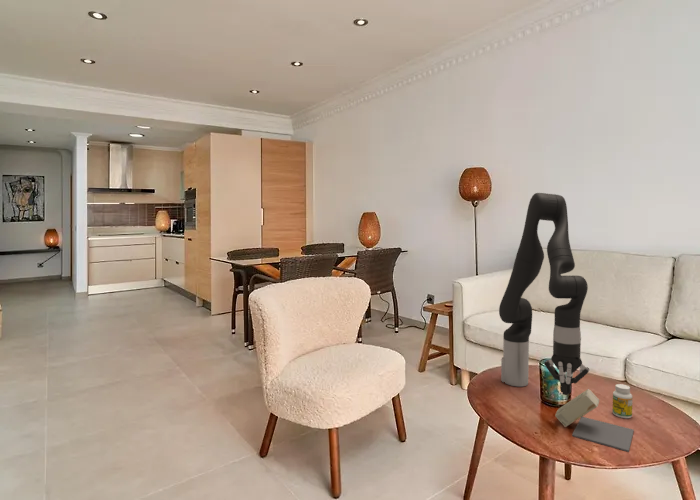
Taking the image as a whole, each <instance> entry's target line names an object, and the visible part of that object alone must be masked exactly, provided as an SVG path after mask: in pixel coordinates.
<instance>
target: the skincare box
mask: <svg viewBox="0 0 700 500" xmlns="http://www.w3.org/2000/svg"><path fill="white" fill-rule="evenodd" d="M599 403H600V399H599V398H598V397H597V395H595V394H594V392H593V391H592V390H591V389H590V388H588V389H586V390H584V391H582V393H580V394H578V395H577V396H575V397H574V398H572V399H571V400H570V401H568V402H566V403H565V404H563V405H561V407H559V408H558V409H557V411H556V412H555V415H554V416H555V418H556V419H557V420H558V421H559V422H560V423H561V424H562V425H563V426H564V428H567V427H568V426H570V425H571V424H573V423H574V422H575V421H578V420H580V418H581V417H585V415H586V414H587V415H588V414H589V413H590V412H591V411H593V410H594V409H596V408H598V406H599Z"/></svg>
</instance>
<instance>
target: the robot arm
mask: <svg viewBox="0 0 700 500" xmlns="http://www.w3.org/2000/svg"><path fill="white" fill-rule="evenodd" d="M568 219H569V218H568V206H567V202H566V199H565V198H564V197H563V196H562V195H560V194H555V193H545V192H535V193H533V195H532V196H531V198H530V200H529V203H528V206H527V211H526V216H525V222H524V225H523V226H524V227H523V232H522V235H521V240H520V244H519V246H518V249H517V252H516V255H515V259H514V262H513V266H512V271H511V274H510V277H509V280H508V283H507V286H506V289H505V292H504V294H503V296H502V299H501V301H500V304H499V307H498V314H499V319H501V321H502V322H504V323H506V324H511V325H510V326H509V327H508V328H507V329H505V330H504V331H503V341H502V342H503V345H502V347H503V351H502V352H503V353H502V355H503V357H501V359H500V361H501V364H500V366H501V367H500V368H501V369H500V372H501V375H500V376H501V377H500V381H502V382H501V383H504V382H505V384H506V385H509V386H512V387H517V388H518V387H525V386H526V387H527V386H528V385H529V362H530V361H529V360H530V354H529V353H530V352H529V351H530V350H529V349H530V348H529V347H530V336H531V334H532V324H533V323H532V322H533V308H532V304H531V303H530V301H529V300H528V299H527V298H524V297H523V294H524V293H525V292H526V290H527V289H528V287H530V285H531V284H532V283H533V282H534V281H535V280H536V278H537V277H538V276H539V274H540V272H541V269H542V265H543V262H544V259H545V253H544V249H543V246H542V244H541V241H540V238H539V234H538V229H539V224H540V221H548V222H549V221H550V222H553V224H554V231H553V233H552V235H551V237H550V239H549V241H548V243H547V246H546V253H547V254H546V255H547V258H548V259H547V260H548V263H549V268H550V269H549V271H550V272H549V282H548V291H549V292H548V293H549V294H550V295H551V296H552V297H553V298H555V299H570V300H569V302H568V303H565V304H561V305H556V307H555V308H554V324H553V325H554V326H553V338H552V339H553V340H552V342H553V343H552V344H553V345H552V347H553V348H552V355H551V358H550V359H547V360H546V361H545V362H544V363H543V365H544V366H545V368H546V369H547V370H548V372H549V373H550V374H551V376H552V377H553V379H554V380H557V381H559V383H560V384H559V385H560V388H559V391H560V393H562V395H565V396H568V395H570V394H571V393H572V384H577V383H578V382H579V381H580V380H582V379H583V378H584V377H585V376H586V375H588V373H589V372H590V368H589V367H587V366H585V365H584V364H583V361H582V358H581V345H582V343H581V341H582V335H581V333H582V331H581V312H582V308H583V305H584V302H585V298H586V297H587V295H588V294H587V293H588V289H589V288H588V287H589V286H588V283H587V280H586V279H585V278H584V276H581V275H563V274H567V273H570V272H572V271H573V270H574V269H575V266H576V265H575V264H576V263H575V260H574V259H575V258H574V255H573V253H572V249H571V244H570V236H569V220H568ZM556 368H557V369H556ZM579 368H580V369H579ZM577 370H579V373H577V375H576V376H575V377H573V375H574V373H575V372H577Z"/></svg>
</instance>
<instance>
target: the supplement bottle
mask: <svg viewBox="0 0 700 500" xmlns="http://www.w3.org/2000/svg"><path fill="white" fill-rule="evenodd" d="M614 388H615V390H614V391H613V392H612V414H613V415H614V416H616V417H618V418H620V419H631V418H632V417H633V394H632V393H631V387H630V386H629V385H628V384H627V385H626V384H623V383H617V384H615V386H614Z"/></svg>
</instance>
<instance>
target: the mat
mask: <svg viewBox="0 0 700 500" xmlns="http://www.w3.org/2000/svg"><path fill="white" fill-rule="evenodd" d="M634 431H635V429H634V428H629V427H625V426H620V425H618V424H613V423H609V422H606V421H605V422H604V421H602V420H601V421H600V420H597V419H593V418H589V417H586V416H582V417H581V418H579V419H578V422H577V424H576V426H575V428H574V430H573V432H572V434H571V435H572V436H571V437H574V438H577V439H581V440H585V441H587V442H592V443H595V444H599V445H603V446H606V447H610V448H613V449H617V450H620V451H624V452H627V453H630V449H631V444H632V441H633V436H634Z"/></svg>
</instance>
